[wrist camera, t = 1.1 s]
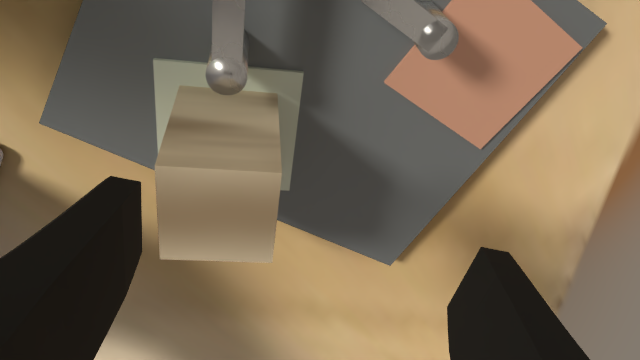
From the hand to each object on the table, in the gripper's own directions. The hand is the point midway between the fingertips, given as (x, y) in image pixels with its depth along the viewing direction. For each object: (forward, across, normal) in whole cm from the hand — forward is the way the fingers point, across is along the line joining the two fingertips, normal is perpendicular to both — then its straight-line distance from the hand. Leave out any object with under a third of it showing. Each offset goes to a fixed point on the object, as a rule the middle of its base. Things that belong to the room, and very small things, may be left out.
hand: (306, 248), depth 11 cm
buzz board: (+13, 0, +2) cm, 13 cm away
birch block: (+11, +4, +5) cm, 13 cm away
